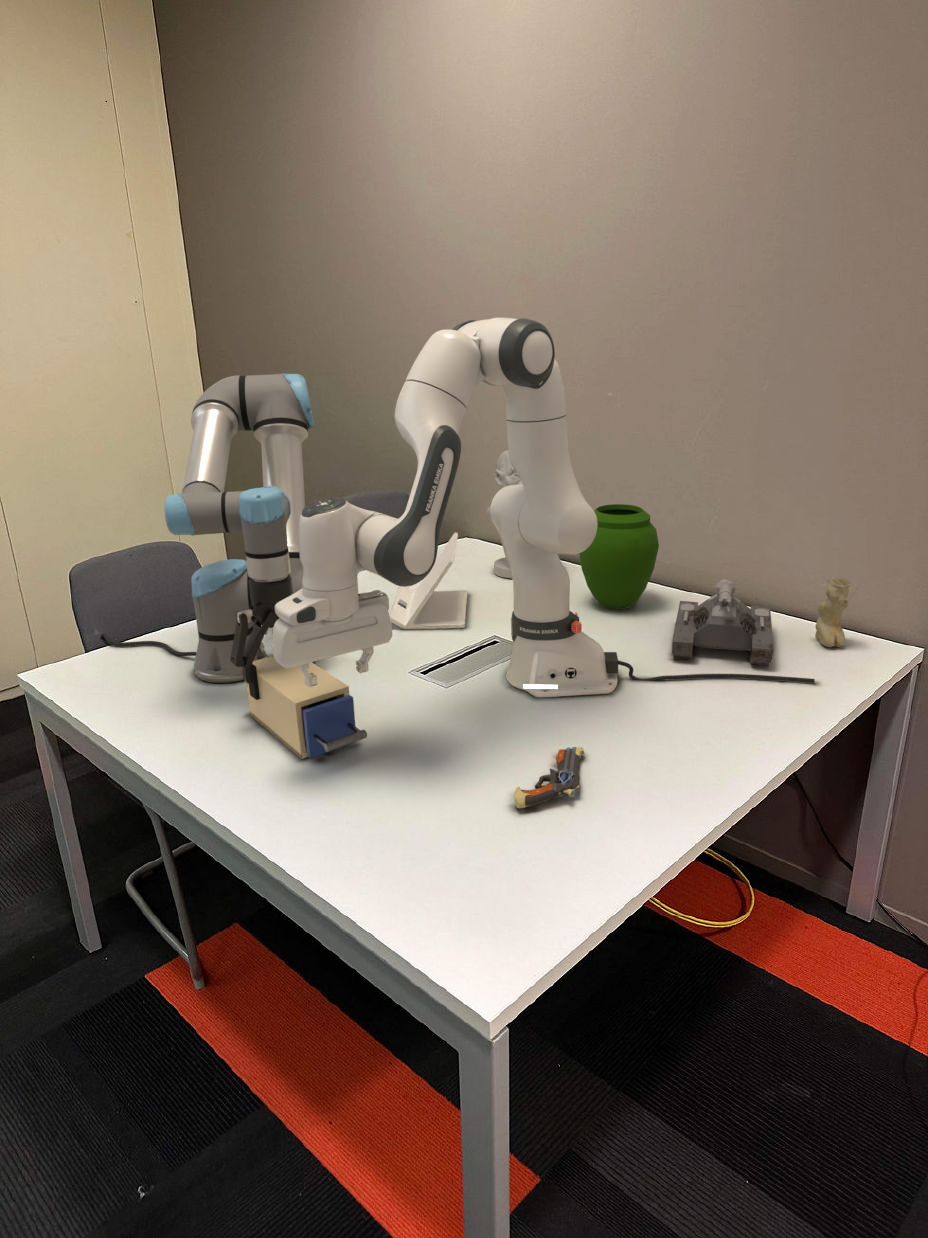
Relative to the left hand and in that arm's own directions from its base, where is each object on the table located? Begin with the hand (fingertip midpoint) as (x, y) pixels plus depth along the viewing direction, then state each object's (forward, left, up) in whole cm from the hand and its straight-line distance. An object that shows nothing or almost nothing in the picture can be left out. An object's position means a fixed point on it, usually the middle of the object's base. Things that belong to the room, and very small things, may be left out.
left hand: (282, 688), depth 160 cm
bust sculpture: (-38, +90, -6) cm, 97 cm away
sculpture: (+43, +109, -6) cm, 117 cm away
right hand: (+20, +2, +9) cm, 22 cm away
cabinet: (+6, 0, -6) cm, 8 cm away
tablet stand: (-31, +53, -6) cm, 62 cm away
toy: (+28, +91, -6) cm, 96 cm away
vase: (-5, +92, -6) cm, 92 cm away
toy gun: (+49, +24, -6) cm, 55 cm away
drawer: (+12, 0, -5) cm, 13 cm away
